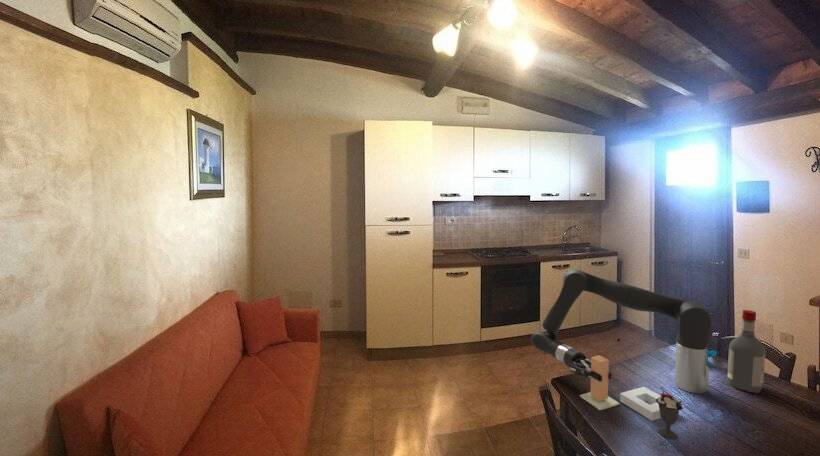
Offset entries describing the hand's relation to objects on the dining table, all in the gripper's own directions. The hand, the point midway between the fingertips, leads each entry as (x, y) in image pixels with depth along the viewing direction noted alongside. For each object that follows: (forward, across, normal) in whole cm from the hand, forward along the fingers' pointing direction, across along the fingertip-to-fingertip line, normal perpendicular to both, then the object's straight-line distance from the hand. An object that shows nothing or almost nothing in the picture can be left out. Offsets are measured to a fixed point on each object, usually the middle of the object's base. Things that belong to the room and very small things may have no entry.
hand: (606, 377), depth 122 cm
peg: (-3, 0, +9) cm, 10 cm away
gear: (-7, +64, +11) cm, 66 cm away
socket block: (+6, +13, +10) cm, 17 cm away
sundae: (+18, +5, +10) cm, 22 cm away
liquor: (+10, +59, +11) cm, 61 cm away
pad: (-3, 0, +10) cm, 11 cm away
